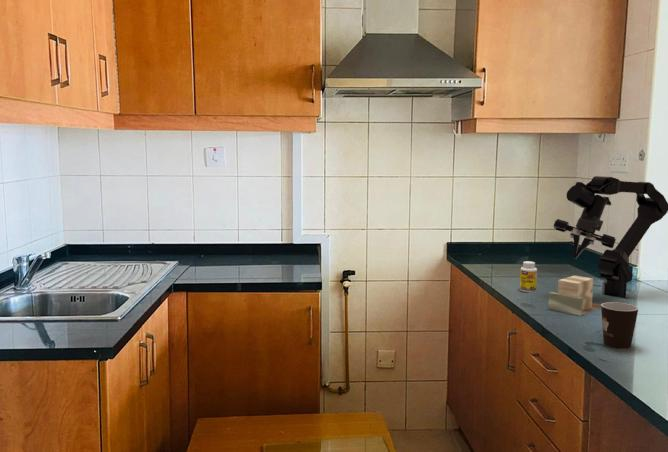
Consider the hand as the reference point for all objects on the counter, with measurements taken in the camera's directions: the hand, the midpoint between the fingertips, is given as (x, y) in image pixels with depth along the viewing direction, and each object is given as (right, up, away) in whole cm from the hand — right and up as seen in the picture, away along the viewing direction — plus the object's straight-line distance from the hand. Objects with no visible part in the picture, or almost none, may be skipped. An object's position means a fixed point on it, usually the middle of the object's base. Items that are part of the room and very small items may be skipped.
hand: (574, 258), depth 194 cm
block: (-4, -15, -10) cm, 18 cm away
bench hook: (-3, -16, -8) cm, 18 cm away
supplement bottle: (-9, -13, +19) cm, 24 cm away
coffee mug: (-4, -20, -37) cm, 42 cm away
